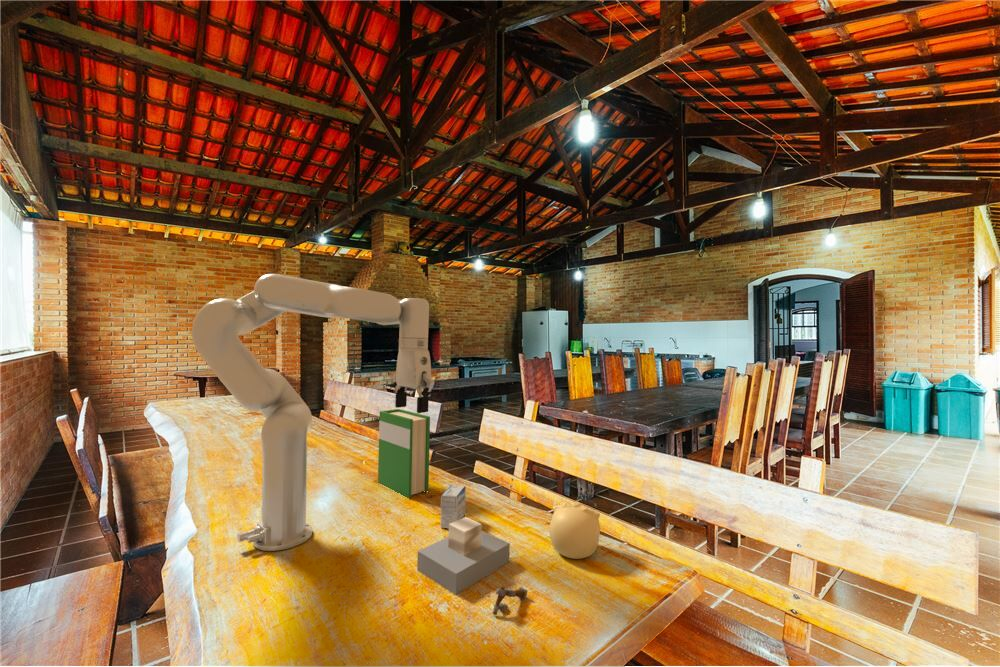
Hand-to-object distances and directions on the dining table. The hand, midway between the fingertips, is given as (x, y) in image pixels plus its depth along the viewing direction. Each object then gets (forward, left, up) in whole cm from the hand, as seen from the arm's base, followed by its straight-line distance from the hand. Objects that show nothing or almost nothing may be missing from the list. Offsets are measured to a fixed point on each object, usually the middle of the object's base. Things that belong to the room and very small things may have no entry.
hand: (411, 409), depth 108 cm
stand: (-4, -25, -30) cm, 39 cm away
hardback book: (+13, +22, -30) cm, 40 cm away
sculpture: (+18, -39, -30) cm, 53 cm away
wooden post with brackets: (-7, -41, -30) cm, 52 cm away
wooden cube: (-4, -25, -26) cm, 36 cm away
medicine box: (+8, -8, -30) cm, 32 cm away
